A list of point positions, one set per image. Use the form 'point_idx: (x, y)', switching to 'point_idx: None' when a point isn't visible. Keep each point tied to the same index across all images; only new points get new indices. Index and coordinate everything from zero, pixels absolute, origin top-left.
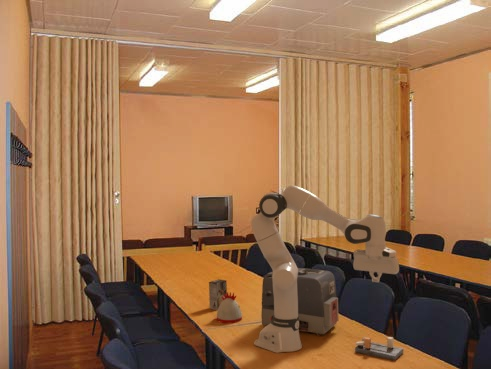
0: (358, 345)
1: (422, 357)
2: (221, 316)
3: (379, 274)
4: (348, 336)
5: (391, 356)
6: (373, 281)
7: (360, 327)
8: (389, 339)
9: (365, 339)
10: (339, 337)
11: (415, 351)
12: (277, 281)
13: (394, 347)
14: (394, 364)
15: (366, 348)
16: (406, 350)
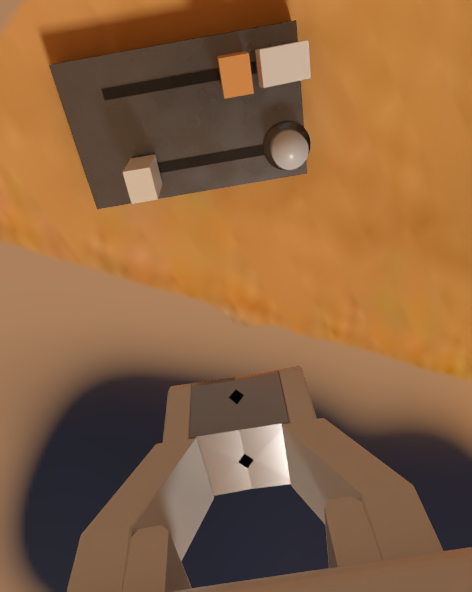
0: None
1: (4, 208)
2: None
3: (101, 544)
4: (423, 216)
5: (70, 61)
6: (270, 372)
7: (419, 348)
8: (135, 168)
9: (242, 54)
10: (459, 172)
11: (76, 254)
12: None
13: None
14: (21, 4)
15: None
16: (111, 238)
